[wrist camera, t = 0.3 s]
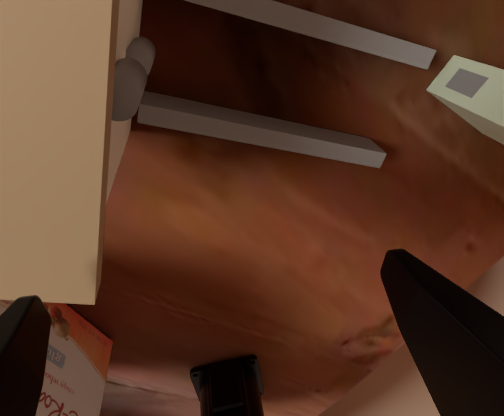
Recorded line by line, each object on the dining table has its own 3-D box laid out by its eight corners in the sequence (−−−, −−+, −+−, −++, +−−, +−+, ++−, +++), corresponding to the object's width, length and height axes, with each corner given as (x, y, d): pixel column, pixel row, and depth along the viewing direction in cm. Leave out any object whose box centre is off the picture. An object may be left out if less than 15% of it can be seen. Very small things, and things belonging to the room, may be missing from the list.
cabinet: (351, 177, 26) (475, 326, 15) (5, 116, 20) (-208, 287, 9) (428, 4, 20) (711, 40, 9) (-18, -149, 14) (-613, -514, 4)
